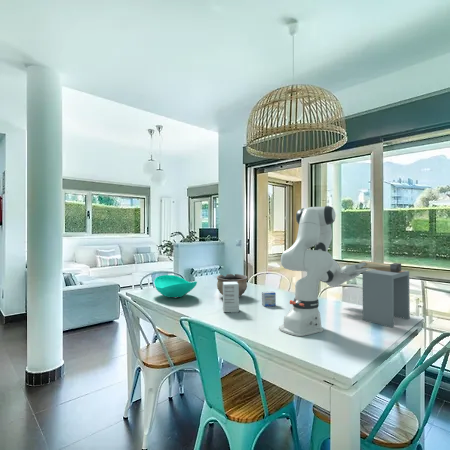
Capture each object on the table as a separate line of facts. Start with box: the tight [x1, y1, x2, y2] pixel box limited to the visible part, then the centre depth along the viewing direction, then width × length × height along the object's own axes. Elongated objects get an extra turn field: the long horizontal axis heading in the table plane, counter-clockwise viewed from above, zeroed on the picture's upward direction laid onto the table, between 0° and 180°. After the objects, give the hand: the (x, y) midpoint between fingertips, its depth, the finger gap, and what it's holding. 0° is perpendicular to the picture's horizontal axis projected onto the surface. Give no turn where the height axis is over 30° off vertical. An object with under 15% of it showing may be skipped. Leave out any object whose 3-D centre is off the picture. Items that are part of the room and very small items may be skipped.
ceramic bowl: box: [216, 273, 248, 297], centre depth 217 cm, size 22×22×15 cm
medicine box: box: [261, 291, 277, 308], centre depth 193 cm, size 8×4×9 cm, turn 105°
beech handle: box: [358, 260, 402, 272], centre depth 170 cm, size 5×22×4 cm, turn 30°
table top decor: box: [153, 274, 198, 298], centre depth 218 cm, size 40×28×13 cm
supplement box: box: [222, 282, 240, 313], centre depth 182 cm, size 10×9×17 cm
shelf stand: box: [361, 269, 411, 328], centre depth 163 cm, size 22×15×26 cm
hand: (367, 262), depth 176 cm, fingers closed on beech handle, 4 cm apart
